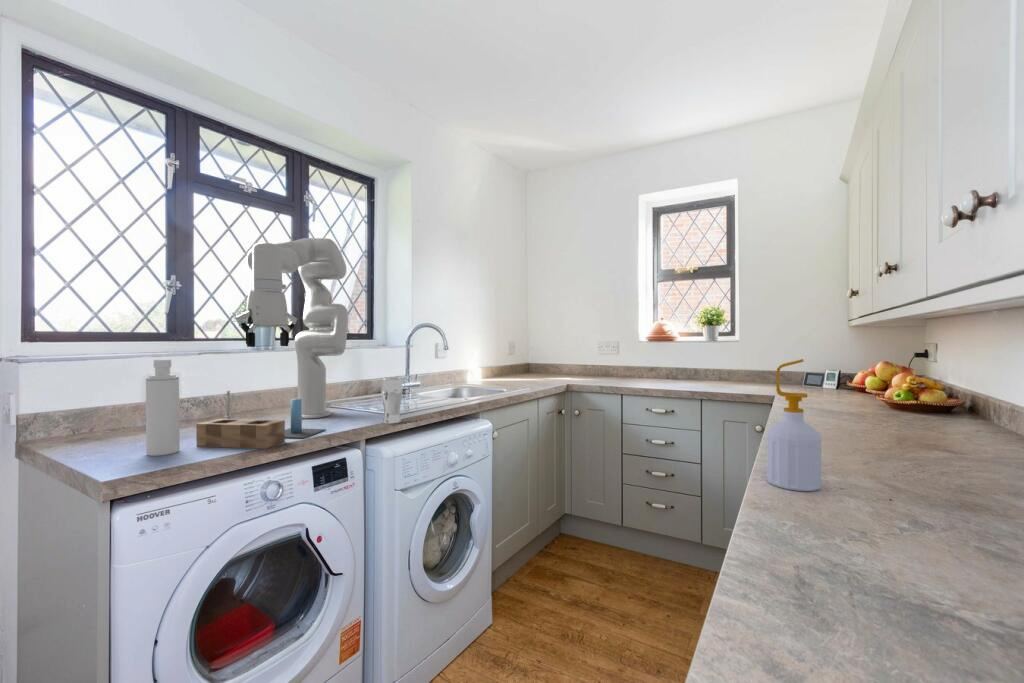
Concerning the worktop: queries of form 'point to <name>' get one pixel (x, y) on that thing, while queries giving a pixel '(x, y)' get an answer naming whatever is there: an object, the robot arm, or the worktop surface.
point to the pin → (296, 416)
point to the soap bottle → (793, 447)
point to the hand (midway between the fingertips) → (268, 346)
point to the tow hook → (227, 406)
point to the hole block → (240, 433)
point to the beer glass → (391, 399)
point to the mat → (304, 433)
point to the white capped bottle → (162, 410)
